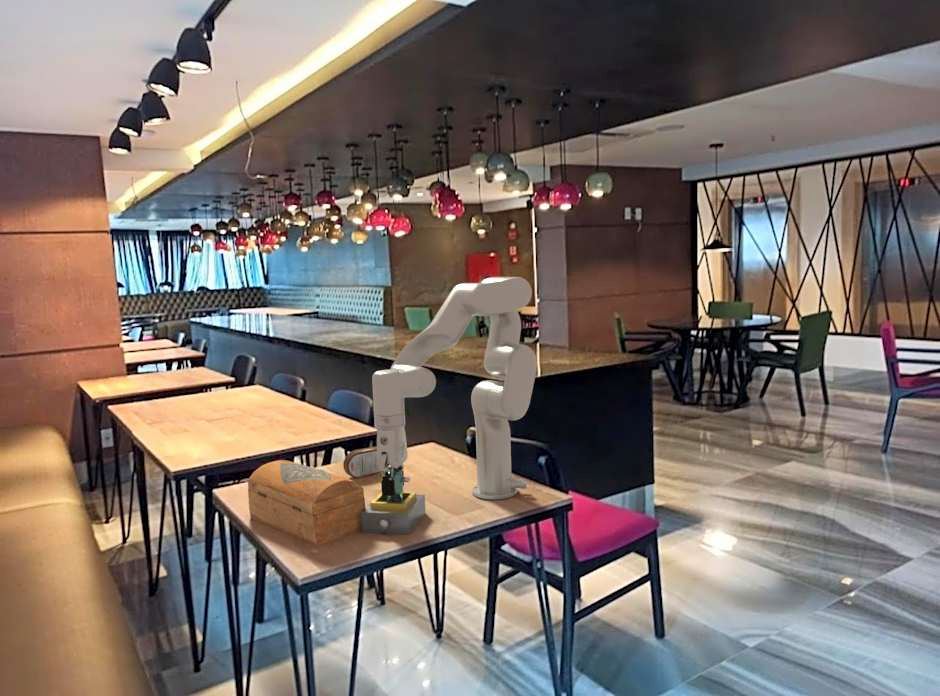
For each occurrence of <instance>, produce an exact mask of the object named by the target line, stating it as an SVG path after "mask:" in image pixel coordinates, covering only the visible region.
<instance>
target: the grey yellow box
mask: <svg viewBox="0 0 940 696" xmlns="http://www.w3.org/2000/svg"><path fill="white" fill-rule="evenodd" d="M425 496H426V495H425V494H417V491H403V497H404V502H403V503H395V502H384V500H383V495H382V491H381V492H380V493H379V494H377V496H376V497H374V498H373V499H372V500H371V502H370V503H369V504H368V505H367V506H365V509H364V510H363V511H362V512H361V521H362V529H361V532H362V533H374V534H389V535H390V534H393V535H411V533H412V532H413V530H414V529H415V528H416V527H417V525H418V524H419V523H420V521H421V520H422V519H423V518H424V517H425V515H426V497H425Z"/></svg>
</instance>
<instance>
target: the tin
mask: <svg viewBox="0 0 940 696" xmlns="http://www.w3.org/2000/svg"><path fill="white" fill-rule="evenodd" d="M386 467H390V465H386ZM343 470H344V473H345V474H346V475H348V476H349V477H352V478H354V479H359V478H363V477H368V476H372V475H378V474H380V472H379V467H378V461H377V445H376V446H371V447H365V448H358V449H354V450H352V451H350V452H349V453H347V455H346V456H345V457H344V460H343Z"/></svg>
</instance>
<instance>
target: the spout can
mask: <svg viewBox="0 0 940 696" xmlns="http://www.w3.org/2000/svg"><path fill="white" fill-rule="evenodd" d="M386 471H388V473H389V474H390V470H386ZM402 471H403V470H399V469H394V470H393V479H394V483H395V495H394V496H383V500H384V502H395V503H403V502H404V497H403V492H404V486H403V482H404V483H410V481H411V478H410V477H409V476H404V477H403V476H402Z"/></svg>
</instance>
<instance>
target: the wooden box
mask: <svg viewBox="0 0 940 696" xmlns="http://www.w3.org/2000/svg"><path fill="white" fill-rule="evenodd" d="M247 486H248V487H247V488H248V490H247V494H248V509H249V510H248V511H249V515H250V518H251V519H253V520H254V521H258V522H260V523H262V524H264V525H266V526H269V527H271V528H274V529H276V530H278V531H280V532H283V533H285V534H287V535H289V536H291V537H294V538H297V539H299V540H301V541H303V542H305V543H308V544H310V545H313V546H316V547H318V546H321V545H324V544H326V543H329V542H332V541H334V540H337V539H339V538H342V537H344V536H347V535H350V534H352V533H354V532H358V531H360V530H362V521H361V512H362V511H363V510H364V509H365V508H366V500H365V493H364V487H363V486H361V485H359V484H358V483H356V482H355V481H353V480H352V479H349V478H347V477H344V476H341V475H336V474H334V473H330V472H328V471H326V470H323V469H319V468H316V467H311V466H308V465H305V464H301V463H296V462H293V461H290V460H285V459H283V460H282V459H280V460H275V461H271V462H267V463H265V464H263V465H261V466H259V467H258V468H257V469H256V470H254V471H253V472H252V474H251V475H250V476H249V478H248V480H247Z"/></svg>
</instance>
